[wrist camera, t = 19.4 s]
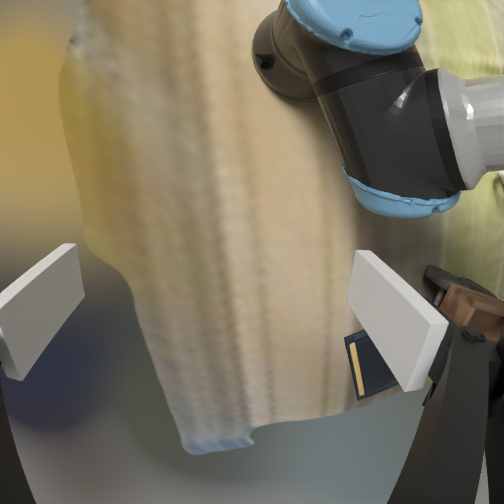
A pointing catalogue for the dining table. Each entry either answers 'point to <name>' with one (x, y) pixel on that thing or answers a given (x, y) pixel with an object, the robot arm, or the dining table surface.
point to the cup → (501, 175)
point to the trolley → (468, 303)
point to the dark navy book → (367, 366)
